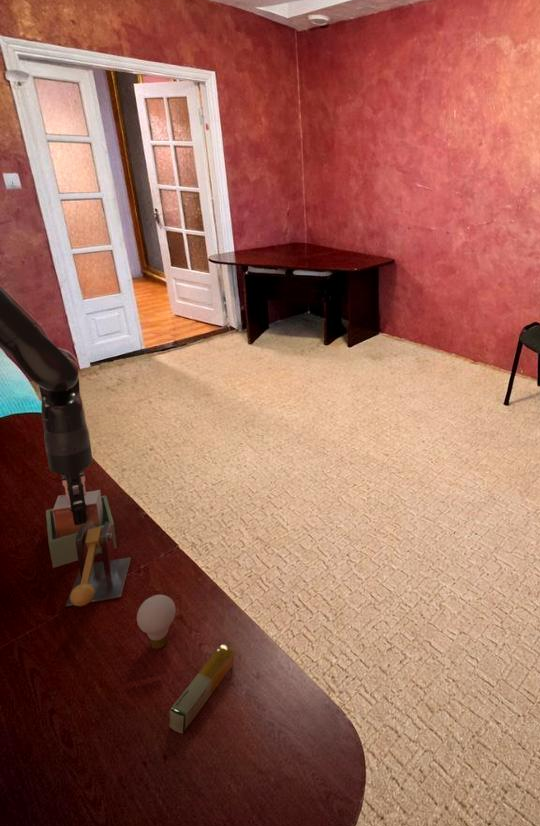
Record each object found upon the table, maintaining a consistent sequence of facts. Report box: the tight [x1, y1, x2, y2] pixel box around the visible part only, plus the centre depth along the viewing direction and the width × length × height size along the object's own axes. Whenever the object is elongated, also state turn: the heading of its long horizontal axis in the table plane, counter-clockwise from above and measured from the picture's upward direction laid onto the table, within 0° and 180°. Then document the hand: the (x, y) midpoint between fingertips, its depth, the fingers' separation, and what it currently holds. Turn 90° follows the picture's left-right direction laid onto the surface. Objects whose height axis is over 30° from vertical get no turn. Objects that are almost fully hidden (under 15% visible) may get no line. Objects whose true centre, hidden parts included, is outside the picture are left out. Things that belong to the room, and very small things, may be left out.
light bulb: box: [136, 594, 177, 650], centre depth 82 cm, size 6×6×10 cm
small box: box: [52, 489, 104, 538], centre depth 104 cm, size 8×6×10 cm
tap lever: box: [69, 528, 102, 607], centre depth 88 cm, size 14×4×4 cm, turn 17°
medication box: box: [168, 643, 235, 735], centre depth 75 cm, size 12×3×4 cm, turn 162°
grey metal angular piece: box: [65, 522, 132, 609], centre depth 93 cm, size 11×9×13 cm
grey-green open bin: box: [45, 495, 118, 569], centre depth 105 cm, size 12×11×7 cm
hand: (78, 512), depth 103 cm, fingers open, 8 cm apart
